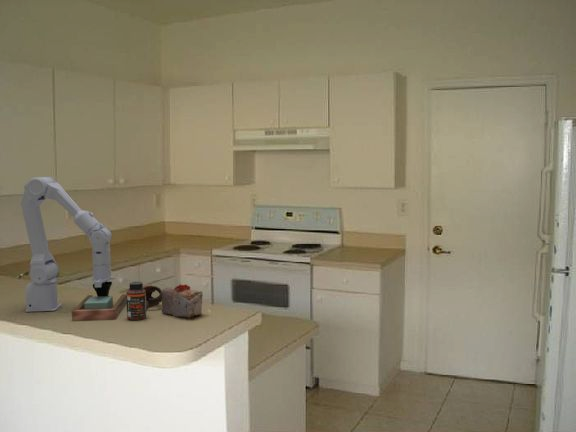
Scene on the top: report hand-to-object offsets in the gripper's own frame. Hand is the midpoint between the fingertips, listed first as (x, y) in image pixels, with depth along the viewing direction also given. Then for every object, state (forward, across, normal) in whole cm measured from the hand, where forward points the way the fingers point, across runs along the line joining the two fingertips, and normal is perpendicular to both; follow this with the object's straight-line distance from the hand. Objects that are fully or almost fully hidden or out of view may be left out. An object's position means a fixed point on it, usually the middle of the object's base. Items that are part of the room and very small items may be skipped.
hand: (103, 304), depth 194 cm
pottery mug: (+2, 0, -14) cm, 14 cm away
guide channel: (+1, -3, 0) cm, 3 cm away
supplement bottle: (+2, -14, -13) cm, 19 cm away
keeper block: (+2, -6, 0) cm, 6 cm away
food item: (+2, -12, -27) cm, 29 cm away
